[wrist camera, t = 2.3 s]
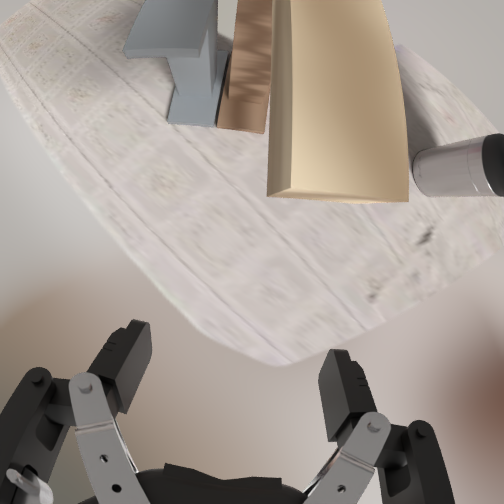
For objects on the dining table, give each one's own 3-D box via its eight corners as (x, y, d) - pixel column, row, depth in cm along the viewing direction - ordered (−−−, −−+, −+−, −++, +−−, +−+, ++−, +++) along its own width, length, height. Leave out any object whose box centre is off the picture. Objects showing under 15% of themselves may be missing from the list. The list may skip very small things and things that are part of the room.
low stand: (229, 50, 36) (239, -51, 13) (212, 133, 38) (204, 49, 15) (188, 47, 35) (172, -51, 12) (167, 129, 37) (116, 51, 14)
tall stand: (273, 56, 37) (338, -92, 5) (262, 140, 39) (357, -9, 7) (232, 50, 36) (254, -109, 5) (215, 133, 38) (210, -39, 6)
